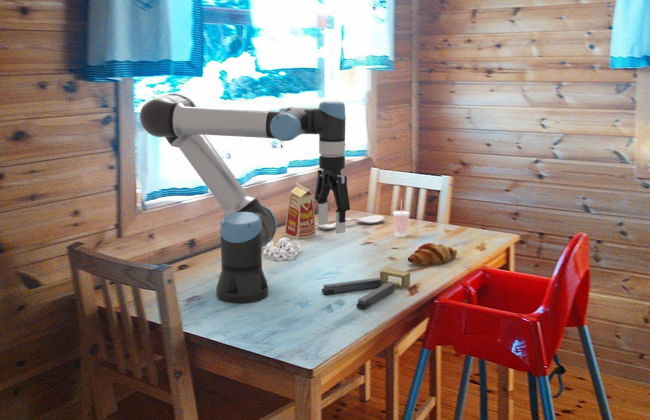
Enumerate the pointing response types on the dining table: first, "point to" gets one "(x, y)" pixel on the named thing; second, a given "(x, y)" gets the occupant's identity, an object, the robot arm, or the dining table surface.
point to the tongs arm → (352, 285)
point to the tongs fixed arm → (376, 295)
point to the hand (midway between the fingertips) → (331, 228)
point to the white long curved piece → (364, 220)
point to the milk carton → (300, 214)
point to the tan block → (395, 273)
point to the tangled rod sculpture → (284, 245)
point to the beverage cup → (400, 222)
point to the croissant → (432, 254)
